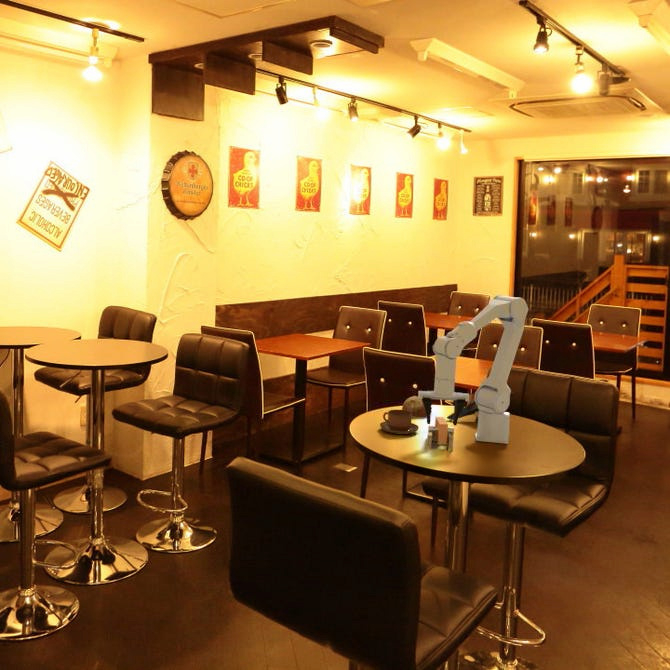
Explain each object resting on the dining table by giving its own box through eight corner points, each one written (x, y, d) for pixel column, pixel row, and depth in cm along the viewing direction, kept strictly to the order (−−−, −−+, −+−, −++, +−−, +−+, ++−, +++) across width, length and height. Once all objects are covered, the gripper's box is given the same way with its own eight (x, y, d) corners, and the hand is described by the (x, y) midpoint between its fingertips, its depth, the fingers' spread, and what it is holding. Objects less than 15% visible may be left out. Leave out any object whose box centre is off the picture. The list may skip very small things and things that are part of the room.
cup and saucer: (375, 433, 221) (376, 414, 220) (385, 424, 232) (386, 406, 231) (413, 439, 217) (414, 419, 216) (421, 429, 228) (423, 410, 227)
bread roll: (406, 420, 254) (398, 399, 253) (434, 410, 252) (425, 389, 251) (405, 427, 244) (396, 405, 243) (434, 416, 242) (425, 394, 242)
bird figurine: (450, 422, 235) (485, 372, 234) (443, 415, 245) (476, 367, 244) (482, 444, 237) (517, 394, 236) (474, 436, 247) (507, 388, 246)
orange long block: (442, 436, 215) (443, 417, 214) (446, 444, 207) (448, 424, 206) (434, 436, 215) (435, 416, 214) (438, 444, 207) (439, 424, 206)
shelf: (452, 439, 217) (454, 422, 217) (452, 451, 206) (454, 432, 205) (428, 437, 219) (429, 420, 218) (426, 448, 207) (427, 430, 206)
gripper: (467, 376, 212) (463, 421, 214) (418, 374, 212) (415, 419, 214) (471, 381, 205) (468, 427, 207) (421, 378, 205) (417, 425, 207)
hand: (441, 423), depth 210 cm, fingers open, 7 cm apart
